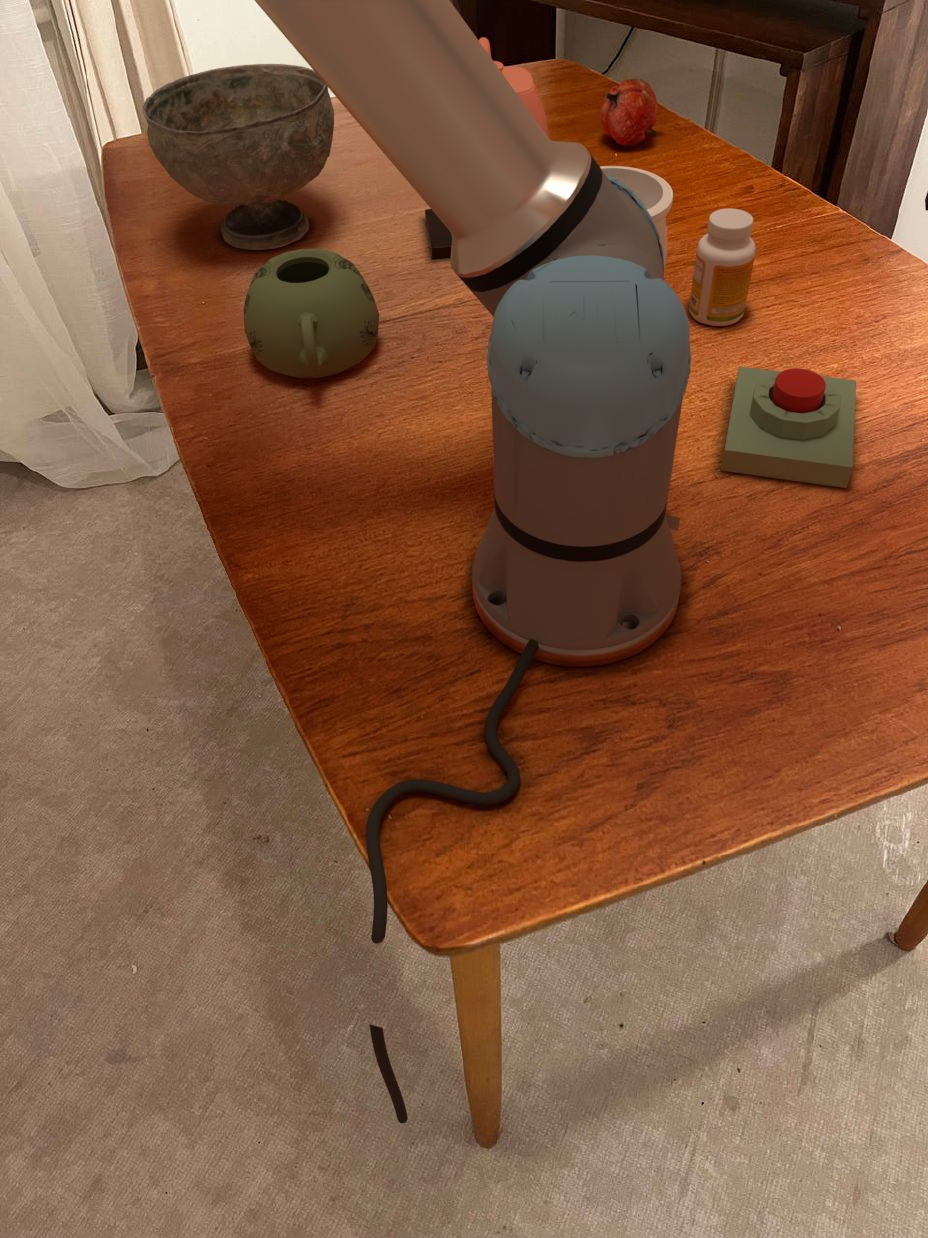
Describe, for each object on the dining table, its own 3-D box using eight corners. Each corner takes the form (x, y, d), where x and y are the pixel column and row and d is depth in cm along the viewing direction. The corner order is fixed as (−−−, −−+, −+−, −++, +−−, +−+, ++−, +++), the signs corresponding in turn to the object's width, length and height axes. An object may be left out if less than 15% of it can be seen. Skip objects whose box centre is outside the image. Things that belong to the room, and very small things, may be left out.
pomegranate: (628, 142, 129) (574, 104, 123) (667, 92, 125) (613, 50, 119) (648, 172, 125) (594, 134, 119) (689, 121, 120) (634, 80, 114)
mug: (251, 320, 100) (232, 239, 93) (377, 306, 100) (367, 225, 94) (249, 415, 89) (228, 331, 83) (390, 398, 90) (380, 314, 83)
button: (820, 417, 80) (825, 399, 78) (769, 410, 80) (773, 393, 79) (822, 388, 82) (827, 371, 81) (773, 382, 83) (777, 365, 82)
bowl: (327, 177, 121) (307, 43, 110) (366, 249, 109) (348, 106, 97) (167, 207, 117) (129, 72, 106) (189, 285, 105) (149, 141, 94)
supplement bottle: (754, 310, 97) (773, 215, 90) (724, 334, 94) (740, 237, 87) (708, 292, 100) (722, 198, 92) (677, 315, 97) (689, 220, 90)
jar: (651, 382, 90) (669, 224, 79) (539, 373, 92) (541, 217, 80) (659, 319, 97) (677, 166, 85) (555, 312, 98) (559, 160, 87)
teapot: (535, 131, 127) (536, 26, 118) (558, 201, 114) (562, 90, 105) (432, 139, 127) (426, 35, 118) (444, 211, 114) (437, 100, 104)
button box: (846, 488, 79) (859, 449, 76) (720, 470, 81) (728, 431, 78) (850, 401, 87) (861, 362, 84) (734, 386, 89) (742, 348, 86)
